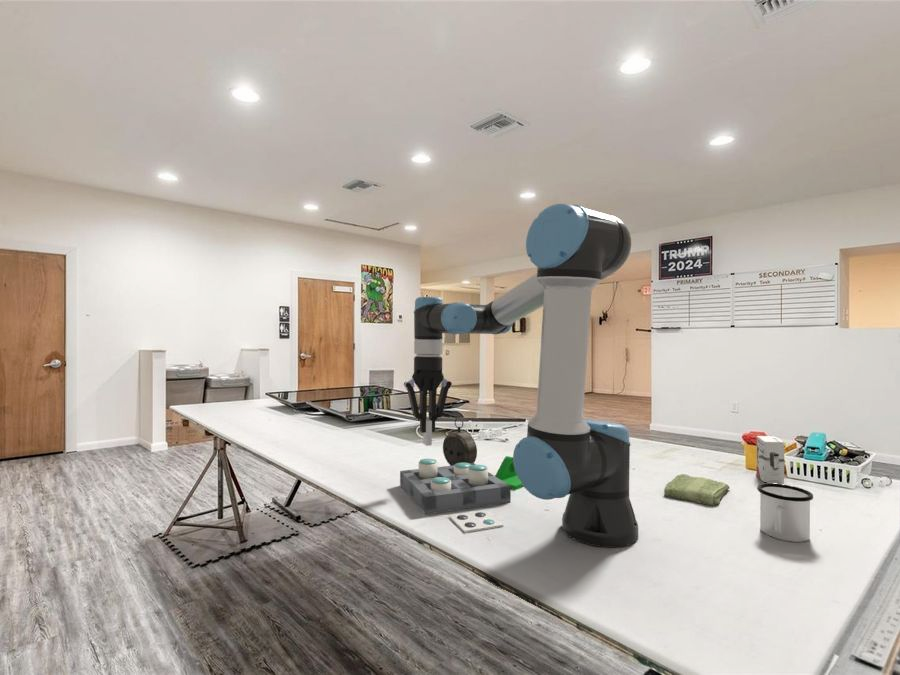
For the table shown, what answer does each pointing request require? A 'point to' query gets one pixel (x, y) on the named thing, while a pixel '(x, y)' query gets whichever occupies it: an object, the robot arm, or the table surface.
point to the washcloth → (696, 489)
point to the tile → (475, 521)
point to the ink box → (770, 459)
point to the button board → (453, 491)
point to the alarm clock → (459, 447)
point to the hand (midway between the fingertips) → (427, 444)
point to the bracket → (509, 473)
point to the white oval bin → (785, 512)
